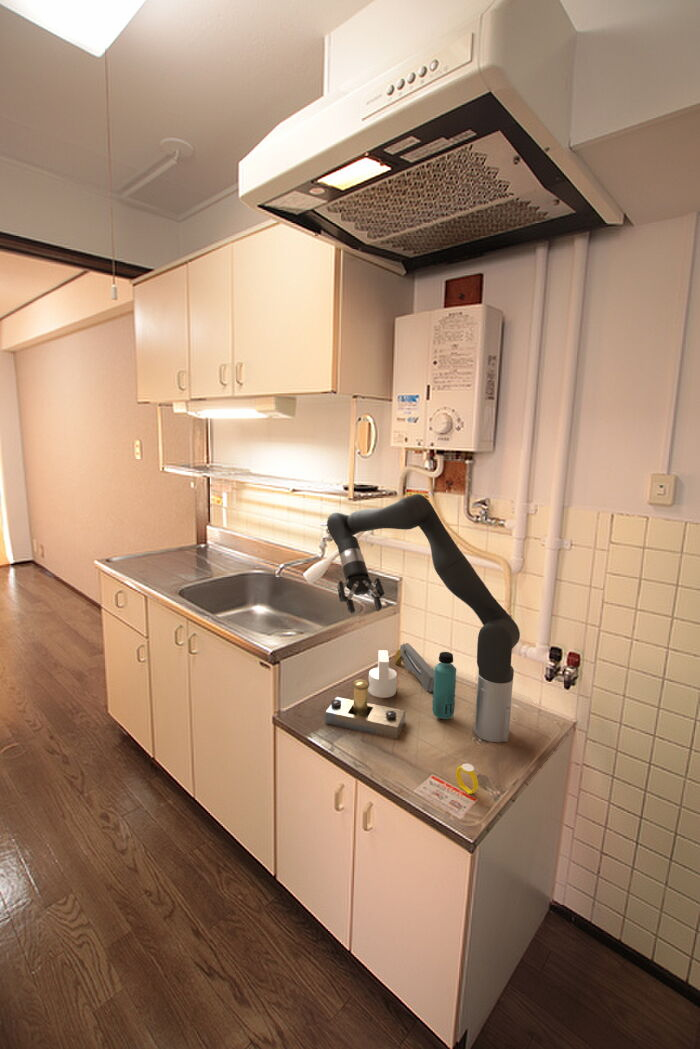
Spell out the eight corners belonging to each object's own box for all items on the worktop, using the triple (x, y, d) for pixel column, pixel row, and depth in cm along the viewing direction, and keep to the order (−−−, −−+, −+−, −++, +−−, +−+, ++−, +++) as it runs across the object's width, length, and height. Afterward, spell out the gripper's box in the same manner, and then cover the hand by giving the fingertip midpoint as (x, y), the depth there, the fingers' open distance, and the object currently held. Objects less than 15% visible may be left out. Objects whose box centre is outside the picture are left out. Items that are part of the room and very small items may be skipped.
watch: (479, 796, 116) (482, 774, 114) (470, 800, 114) (473, 777, 113) (461, 779, 121) (463, 757, 119) (452, 783, 119) (455, 761, 118)
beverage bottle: (444, 726, 143) (448, 660, 140) (426, 716, 148) (430, 652, 145) (458, 719, 147) (463, 654, 144) (441, 709, 152) (444, 647, 149)
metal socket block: (404, 722, 145) (405, 707, 144) (396, 739, 136) (397, 723, 135) (336, 707, 151) (336, 693, 151) (325, 723, 143) (325, 708, 142)
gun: (423, 714, 165) (436, 682, 158) (390, 660, 184) (399, 629, 177) (431, 712, 166) (444, 681, 159) (397, 658, 185) (407, 628, 178)
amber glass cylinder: (370, 719, 146) (371, 680, 144) (365, 727, 141) (366, 688, 139) (354, 715, 147) (355, 677, 145) (349, 724, 143) (350, 685, 141)
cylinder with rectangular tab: (397, 698, 158) (398, 662, 156) (368, 697, 158) (369, 661, 156) (395, 684, 167) (396, 650, 165) (368, 683, 167) (369, 649, 165)
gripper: (335, 560, 156) (347, 607, 147) (377, 558, 161) (391, 603, 152) (330, 573, 162) (341, 619, 153) (370, 570, 167) (383, 614, 158)
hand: (366, 611), depth 153 cm, fingers open, 8 cm apart
